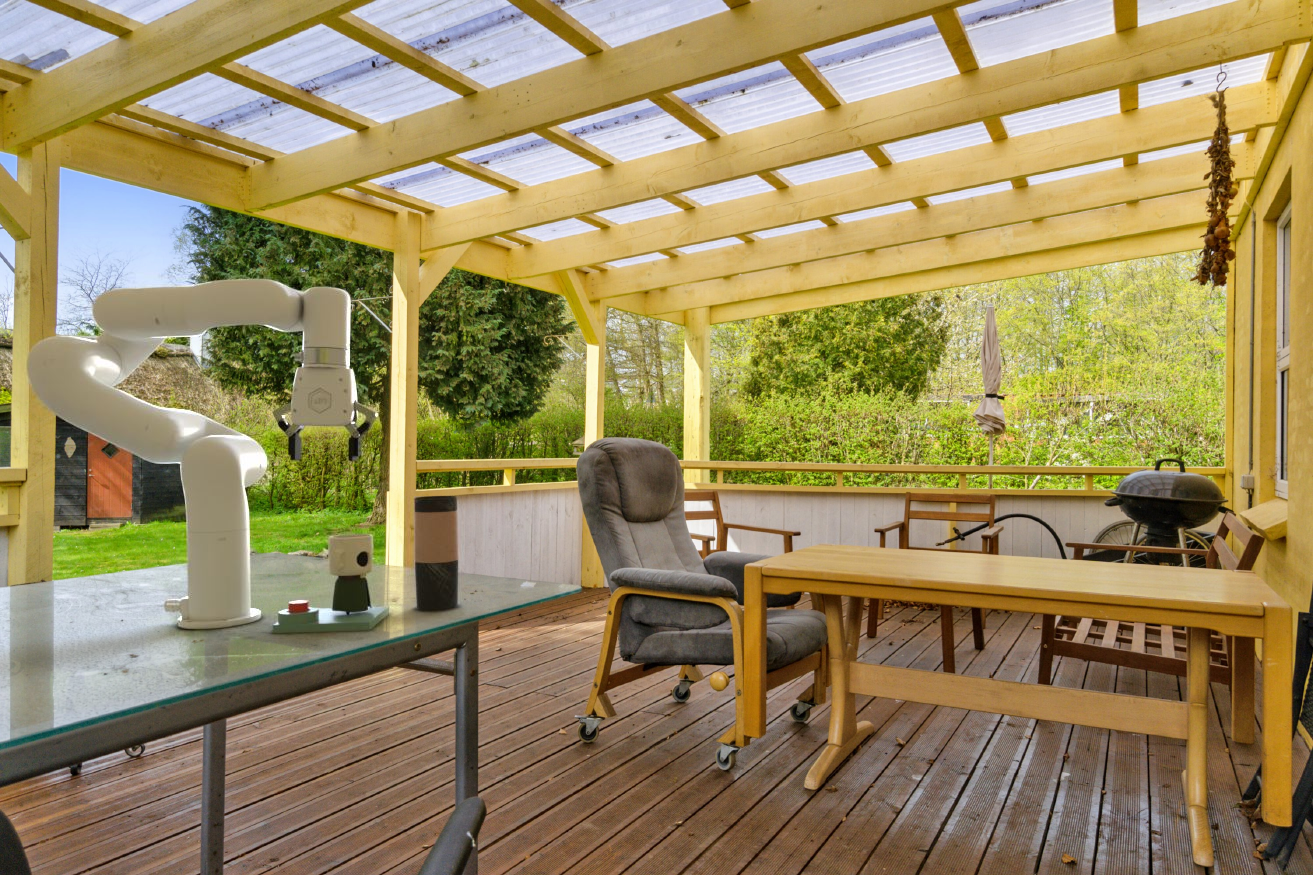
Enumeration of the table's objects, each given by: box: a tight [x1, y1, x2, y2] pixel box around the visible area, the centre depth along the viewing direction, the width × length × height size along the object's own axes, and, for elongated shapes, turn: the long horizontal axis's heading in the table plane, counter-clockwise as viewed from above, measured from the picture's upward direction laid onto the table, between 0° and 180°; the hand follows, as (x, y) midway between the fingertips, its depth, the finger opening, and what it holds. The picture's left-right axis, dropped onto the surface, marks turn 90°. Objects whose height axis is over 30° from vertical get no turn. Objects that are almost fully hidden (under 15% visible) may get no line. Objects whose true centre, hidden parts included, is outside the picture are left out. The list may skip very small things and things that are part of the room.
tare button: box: [288, 599, 310, 613], centre depth 139 cm, size 3×3×2 cm
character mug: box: [327, 533, 374, 615], centre depth 145 cm, size 11×7×13 cm, turn 175°
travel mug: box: [413, 495, 459, 612], centre depth 155 cm, size 8×8×20 cm
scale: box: [272, 605, 390, 634], centre depth 143 cm, size 15×13×3 cm
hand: (324, 460), depth 147 cm, fingers open, 9 cm apart
